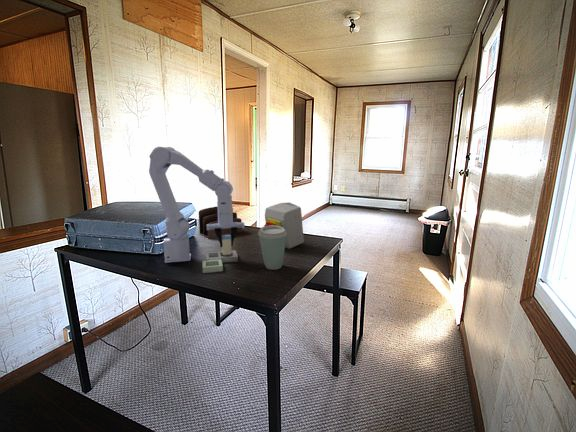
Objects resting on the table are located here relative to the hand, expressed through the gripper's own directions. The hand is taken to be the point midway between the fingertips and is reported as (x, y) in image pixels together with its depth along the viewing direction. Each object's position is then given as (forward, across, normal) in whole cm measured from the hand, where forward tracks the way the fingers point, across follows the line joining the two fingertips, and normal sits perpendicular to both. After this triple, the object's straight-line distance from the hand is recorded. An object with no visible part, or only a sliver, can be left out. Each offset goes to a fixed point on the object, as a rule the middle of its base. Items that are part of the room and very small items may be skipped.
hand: (226, 246), depth 119 cm
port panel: (+5, -2, 0) cm, 6 cm away
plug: (+3, 0, 0) cm, 3 cm away
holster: (+5, -6, -9) cm, 12 cm away
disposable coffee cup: (+6, +16, -13) cm, 21 cm away
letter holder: (+6, 0, +39) cm, 40 cm away
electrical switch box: (+6, +26, +12) cm, 29 cm away
